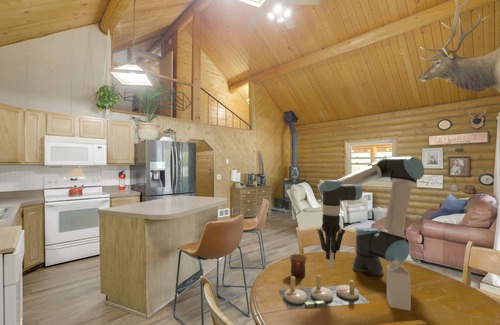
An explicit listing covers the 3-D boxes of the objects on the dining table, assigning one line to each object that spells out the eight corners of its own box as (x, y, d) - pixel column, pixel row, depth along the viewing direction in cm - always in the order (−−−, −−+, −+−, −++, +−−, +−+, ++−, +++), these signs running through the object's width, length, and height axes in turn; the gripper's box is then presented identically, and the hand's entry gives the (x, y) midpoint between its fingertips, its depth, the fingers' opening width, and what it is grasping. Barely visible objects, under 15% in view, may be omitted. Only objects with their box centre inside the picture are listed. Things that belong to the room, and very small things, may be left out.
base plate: (349, 287, 114) (349, 282, 114) (369, 305, 100) (369, 299, 100) (278, 292, 109) (278, 287, 109) (288, 312, 94) (288, 306, 94)
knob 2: (351, 287, 111) (351, 272, 111) (363, 298, 102) (363, 281, 102) (332, 289, 110) (332, 273, 110) (343, 300, 101) (343, 283, 101)
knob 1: (301, 291, 108) (301, 275, 108) (310, 303, 99) (310, 285, 99) (282, 292, 106) (282, 276, 106) (288, 304, 97) (288, 287, 97)
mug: (289, 272, 130) (289, 253, 130) (306, 274, 128) (306, 254, 129) (288, 282, 118) (289, 261, 119) (307, 284, 117) (307, 263, 117)
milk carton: (405, 304, 101) (405, 258, 101) (410, 313, 94) (410, 265, 95) (386, 300, 103) (386, 256, 104) (390, 310, 97) (390, 262, 97)
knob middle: (326, 289, 109) (326, 273, 110) (337, 300, 100) (337, 283, 101) (307, 291, 108) (307, 275, 108) (316, 302, 99) (316, 285, 99)
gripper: (340, 212, 114) (339, 262, 113) (314, 212, 112) (313, 263, 111) (349, 215, 107) (348, 269, 106) (321, 215, 104) (320, 270, 104)
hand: (330, 266), depth 109 cm, fingers closed
